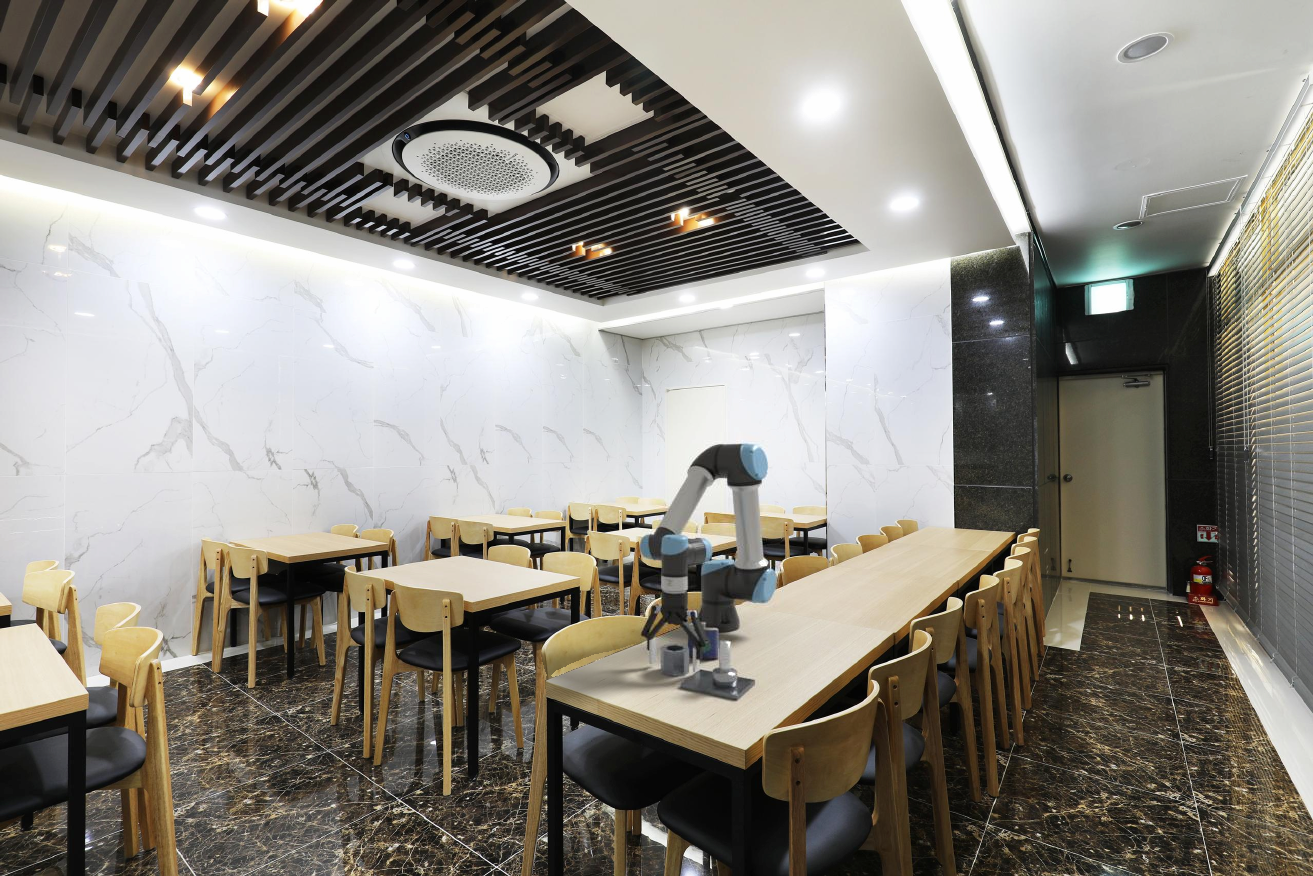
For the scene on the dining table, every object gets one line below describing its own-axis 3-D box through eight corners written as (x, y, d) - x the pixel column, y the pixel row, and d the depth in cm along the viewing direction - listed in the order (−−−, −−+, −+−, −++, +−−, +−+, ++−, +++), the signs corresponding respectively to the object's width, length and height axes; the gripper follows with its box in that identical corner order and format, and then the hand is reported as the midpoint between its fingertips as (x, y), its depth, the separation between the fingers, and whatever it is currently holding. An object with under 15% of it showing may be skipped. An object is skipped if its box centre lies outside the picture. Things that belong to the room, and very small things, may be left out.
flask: (719, 657, 184) (718, 621, 184) (717, 661, 181) (717, 624, 181) (688, 655, 186) (688, 620, 186) (687, 659, 183) (686, 622, 183)
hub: (669, 665, 178) (669, 642, 178) (692, 669, 174) (692, 646, 174) (656, 673, 171) (656, 649, 171) (680, 678, 168) (680, 654, 168)
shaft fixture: (700, 673, 171) (700, 630, 171) (755, 684, 163) (754, 638, 163) (680, 688, 160) (680, 641, 161) (737, 700, 152) (737, 651, 153)
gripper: (629, 588, 176) (629, 662, 175) (709, 598, 164) (709, 678, 163) (643, 583, 183) (642, 655, 182) (720, 593, 170) (720, 670, 169)
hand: (674, 667), depth 172 cm, fingers open, 13 cm apart
